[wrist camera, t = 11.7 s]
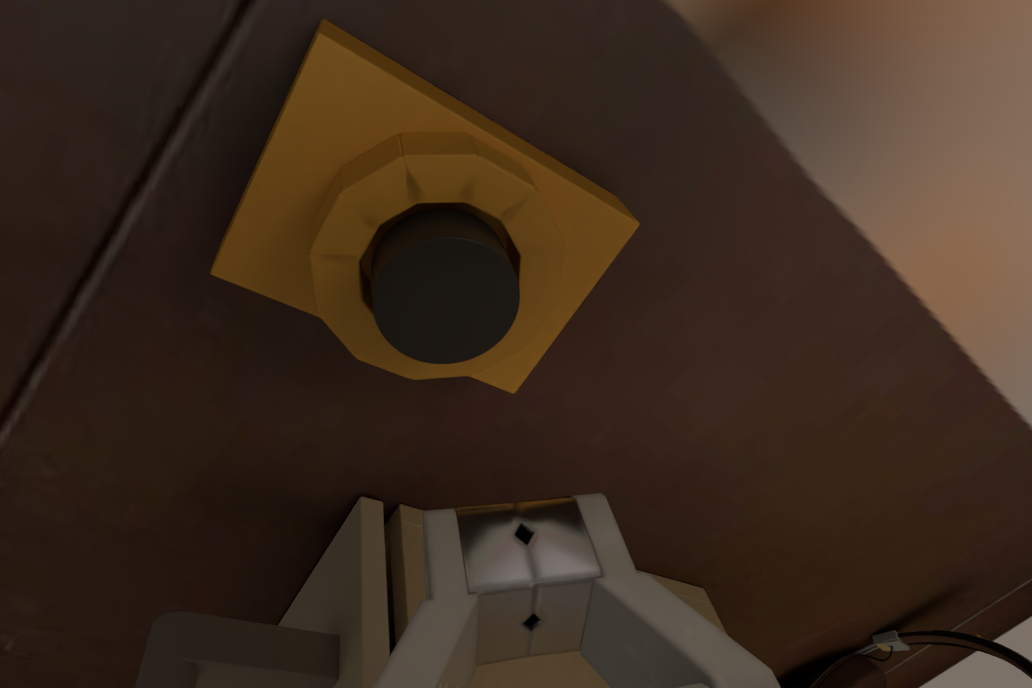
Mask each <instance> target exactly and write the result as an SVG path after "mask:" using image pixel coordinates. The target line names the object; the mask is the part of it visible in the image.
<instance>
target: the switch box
mask: <svg viewBox="0 0 1032 688" xmlns="http://www.w3.org/2000/svg"><path fill="white" fill-rule="evenodd" d="M435 208H450V209H456V210H461V211H464V212H468V213H470V214H472V215H474V216H476V217H478V218H480V219H481V220H483V221H484V222H485V223H487V224H488V225H489V226H490V227H491V228H492V229H493V230H494V231H495V232H496V234H497V235H498V237H499V238H500V240H501V242H502V244H503V246H504V248H505V251H506V253H507V255H508V258H509V260H510V262H511V265H512V267H513V270H514V272H515V274H516V277H517V280H518V283H519V289H520V303H519V309H518V312H517V316H516V318H515V320H514V323H513V325H512V326H511V328H510V330H509V331H508V333H507V334H506V335H505V336H504V338H503V339H502V340H501V341H500V342H499V343H498V344H496V345H495V346H494V347H493V348H491V349H490V350H488V351H487V352H485V353H484V354H482V355H480V356H477V357H475V358H473V359H470V360H467V361H463V362H459V363H453V364H431V363H426V362H421V361H418V360H415V359H412V358H410V357H408V356H406V355H404V354H402V353H401V352H399V351H398V350H396V349H395V348H394V347H393V346H391V345H390V344H389V342H388V341H387V340H386V339H385V338H384V337H383V335H382V334H381V332H380V330H379V328H378V326H377V324H376V321H375V318H374V314H373V308H372V284H371V265H372V259H373V256H374V252H375V250H376V248H377V245H378V243H379V242H380V240H381V239H382V237H383V236H384V235H385V234H386V232H387V231H388V230H389V229H390V228H391V227H392V226H394V225H395V224H396V223H397V222H399V221H400V220H402V219H403V218H405V217H407V216H409V215H411V214H414V213H417V212H419V211H423V210H428V209H435ZM638 226H639V222H638V221H637V220H636V219H635V217H634V216H633V215H632V214H631V213H630V212H629V211H628V209H627V208H626V207H625V206H624V205H623V204H622V202H621V201H620V200H619V199H618V198H617V197H616V196H615V195H613V194H612V193H610V192H608V191H607V190H605V189H603V188H602V187H600V186H598V185H597V184H595V183H593V182H592V181H590V180H589V179H587V178H585V177H584V176H582V175H580V174H579V173H577V172H575V171H574V170H572V169H570V168H569V167H567V166H566V165H564V164H562V163H561V162H559V161H557V160H556V159H554V158H552V157H551V156H549V155H547V154H546V153H544V152H543V151H541V150H539V149H538V148H536V147H534V146H533V145H531V144H529V143H528V142H526V141H524V140H523V139H521V138H519V137H518V136H516V135H515V134H513V133H511V132H510V131H508V130H506V129H505V128H503V127H501V126H500V125H498V124H496V123H495V122H493V121H492V120H490V119H488V118H487V117H485V116H483V115H482V114H480V113H478V112H477V111H475V110H473V109H472V108H470V107H469V106H467V105H465V104H464V103H462V102H460V101H459V100H457V99H455V98H454V97H452V96H450V95H449V94H447V93H446V92H444V91H442V90H441V89H439V88H437V87H436V86H434V85H432V84H431V83H429V82H427V81H426V80H424V79H423V78H421V77H419V76H418V75H416V74H414V73H413V72H411V71H409V70H408V69H406V68H404V67H403V66H401V65H399V64H398V63H396V62H395V61H393V60H391V59H390V58H388V57H386V56H385V55H383V54H381V53H380V52H378V51H376V50H375V49H373V48H372V47H370V46H368V45H367V44H365V43H363V42H362V41H360V40H358V39H357V38H355V37H353V36H352V35H350V34H349V33H347V32H345V31H344V30H342V29H340V28H339V27H337V26H335V25H334V24H332V23H330V22H329V21H327V20H326V19H322V20H321V21H320V24H319V26H318V28H317V30H316V33H315V35H314V37H313V39H312V41H311V44H310V46H309V48H308V50H307V53H306V55H305V57H304V59H303V61H302V64H301V66H300V68H299V70H298V73H297V75H296V77H295V79H294V82H293V84H292V86H291V88H290V90H289V93H288V95H287V97H286V99H285V102H284V104H283V106H282V108H281V110H280V113H279V115H278V117H277V119H276V122H275V124H274V126H273V128H272V131H271V133H270V135H269V137H268V139H267V142H266V144H265V146H264V148H263V151H262V153H261V155H260V157H259V159H258V162H257V164H256V166H255V168H254V171H253V173H252V175H251V177H250V180H249V182H248V184H247V186H246V188H245V191H244V193H243V195H242V197H241V200H240V202H239V204H238V206H237V208H236V211H235V213H234V215H233V217H232V220H231V222H230V224H229V226H228V229H227V231H226V233H225V235H224V237H223V240H222V242H221V245H220V248H219V250H218V253H217V255H216V258H215V261H214V263H213V266H212V268H211V271H210V274H211V275H213V276H216V277H218V278H221V279H224V280H226V281H229V282H231V283H234V284H236V285H239V286H241V287H244V288H246V289H249V290H251V291H254V292H256V293H259V294H262V295H264V296H267V297H269V298H272V299H274V300H277V301H279V302H282V303H284V304H287V305H289V306H292V307H295V308H297V309H300V310H302V311H305V312H307V313H310V314H312V315H315V316H317V317H320V318H321V319H322V320H323V321H324V322H325V323H326V324H327V326H328V327H329V328H330V329H331V330H332V331H333V333H334V334H335V335H336V336H337V337H338V338H339V339H340V341H341V342H342V343H343V344H344V345H345V346H346V348H347V349H348V350H349V351H350V352H351V353H352V354H353V356H354V357H356V358H357V359H358V360H361V361H363V362H366V363H369V364H371V365H374V366H377V367H379V368H382V369H385V370H387V371H390V372H393V373H395V374H398V375H401V376H403V377H406V378H409V379H413V380H421V379H434V378H447V377H460V376H469V377H472V378H475V379H477V380H480V381H482V382H485V383H487V384H490V385H492V386H495V387H497V388H500V389H502V390H505V391H507V392H510V393H513V394H514V393H515V392H516V391H517V390H518V388H519V387H520V386H521V384H522V383H523V382H524V380H525V379H526V378H527V376H528V375H529V373H530V372H531V371H532V369H533V368H534V367H535V365H536V364H537V363H538V361H539V360H540V359H541V357H542V356H543V355H544V353H545V352H546V351H547V349H548V348H549V346H550V345H551V344H552V342H553V341H554V340H555V338H556V337H557V336H558V334H559V333H560V332H561V330H562V329H563V328H564V326H565V325H566V323H567V322H568V321H569V319H570V318H571V317H572V315H573V314H574V313H575V311H576V310H577V309H578V307H579V306H580V305H581V303H582V302H583V301H584V299H585V298H586V296H587V295H588V294H589V292H590V291H591V290H592V288H593V287H594V286H595V284H596V283H597V282H598V280H599V279H600V278H601V276H602V275H603V273H604V272H605V271H606V269H607V268H608V267H609V265H610V264H611V263H612V261H613V260H614V259H615V257H616V256H617V255H618V253H619V252H620V251H621V249H622V248H623V246H624V245H625V244H626V242H627V241H628V240H629V238H630V237H631V236H632V234H633V233H634V232H635V230H636V229H637V228H638Z"/></svg>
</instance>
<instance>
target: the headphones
mask: <svg viewBox="0 0 1032 688" xmlns="http://www.w3.org/2000/svg"><path fill="white" fill-rule="evenodd" d="M872 638H873V641H874V643H872V644H870V645H868V646H866V647H864V648H862V649H860V650H858V651H856V652H855V653H853V654H850V655H847V656H845V657H843V658H841V659H839V660H837V661H835V662H833V663H831V664H829V665H827V666H825V667H823V668H821V669H820V670H818V671H816V672H815V673H813V674H812V675H810V676H808V677H807V678H806V679H804V680H803V681H801V682H800V683H799V684H797V685H796V686H795V687H794V688H887V687H886V686H887V681H886V677H885V674H884V672H883V671H882V670H881V669H880V668H879V667H878V666H876V665H875V664H874V663H872V662H871V661H870V660H868V659H867V658H865V657H869V658H872V659H875V660H878V661H887V660H888V659H889V658H890V657H891V655H892V651H901V650H910V649H909V646H908V645H914V644H934V645H948V646H957V647H963V648H968V649H973V650H977V651H981V652H984V653H987V654H990V655H993V656H996V657H998V658H1000V659H1003V660H1005V661H1007V662H1009V663H1010V664H1012V665H1014V666H1015V667H1017V668H1018V669H1020V670H1021V671H1023V672H1024V673H1025V674H1027V675H1028V676H1029V677H1030V678H1032V662H1031V661H1030V660H1028V659H1027V658H1025V657H1024V656H1022V655H1020V654H1019V653H1017V652H1015V651H1013V650H1011V649H1009V648H1007V647H1005V646H1003V645H1001V644H998V643H996V642H993V641H991V640H988V639H985V638H982V637H980V636H979V635H978V634H976V635H975V636H974V635H970V634H965V633H959V632H952V631H939V630H934V631H917V632H908V633H900V634H899V633H898V632H896V631H895V630H892V631H889V632H885V633H881V634H877V635H873V636H872ZM875 645H876V646H875ZM873 646H874V647H873ZM871 647H872V648H871ZM869 648H870V649H869ZM877 648H881V649H882V650H883V651H890V655H889V656H888V657H887V658H886V659H884V660H881V659H877V658H874V657H872V656H868V655H865V654H867V653H869V652H871V651H873V650H875V649H877ZM867 649H868V650H867ZM865 650H866V651H865ZM863 651H864V652H863ZM861 652H862V653H861ZM859 653H860V654H859ZM864 656H865V657H864Z"/></svg>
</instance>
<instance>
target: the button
mask: <svg viewBox="0 0 1032 688" xmlns="http://www.w3.org/2000/svg"><path fill="white" fill-rule="evenodd" d="M371 284H372V308H373V314H374V318H375V321H376V324H377V326H378V328H379V330H380V332H381V334H382V335H383V337H384V338H385V339H386V340H387V341H388V342H389V344H390V345H391V346H393V347H394V348H395V349H396V350H398V351H399V352H401V353H402V354H404V355H406V356H408V357H410V358H412V359H415V360H418V361H421V362H426V363H431V364H453V363H459V362H463V361H467V360H470V359H473V358H475V357H477V356H480V355H482V354H484V353H485V352H487V351H488V350H490V349H491V348H493V347H494V346H495V345H496V344H498V343H499V342H500V341H501V340H502V339H503V338H504V336H505V335H506V334H507V333H508V331H509V330H510V328H511V326H512V325H513V323H514V320H515V318H516V316H517V312H518V309H519V303H520V289H519V283H518V280H517V277H516V274H515V272H514V270H513V267H512V265H511V262H510V260H509V258H508V255H507V253H506V251H505V248H504V246H503V244H502V242H501V240H500V238H499V237H498V235H497V234H496V232H495V231H494V230H493V229H492V228H491V227H490V226H489V225H488V224H487V223H485V222H484V221H483V220H481V219H480V218H478V217H476V216H474V215H472V214H470V213H468V212H464V211H461V210H456V209H450V208H435V209H428V210H423V211H419V212H417V213H414V214H411V215H409V216H407V217H405V218H403V219H402V220H400V221H399V222H397V223H396V224H395V225H394V226H392V227H391V228H390V229H389V230H388V231H387V232H386V234H385V235H384V236H383V237H382V239H381V240H380V242H379V243H378V245H377V248H376V250H375V252H374V256H373V259H372V265H371Z"/></svg>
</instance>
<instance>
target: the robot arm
mask: <svg viewBox="0 0 1032 688" xmlns="http://www.w3.org/2000/svg"><path fill="white" fill-rule="evenodd" d="M422 516H423V560H424V583H425V597H426V600H423V601H421V603H420V604H419V606H418V608H417V610H416V611H415V613H414V615H413V617H412V618H411V620H410V622H409V624H408V625H407V627H406V629H405V631H404V632H403V634H402V636H401V638H400V639H399V641H398V643H397V645H396V646H395V648H394V650H393V652H392V653H391V655H390V657H389V659H388V660H387V662H386V664H385V666H384V667H383V669H382V671H381V673H380V674H379V676H378V678H377V680H376V681H375V683H374V685H373V687H372V688H469V686H470V684H471V681H472V679H473V676H474V674H475V671H476V666H481V665H487V664H492V663H498V662H504V661H509V660H515V659H520V658H526V657H534V656H542V655H550V654H558V653H567V652H575V651H580V655H581V656H582V657H583V658H584V659H585V660H586V661H587V662H588V663H589V664H590V666H591V667H592V668H593V669H594V670H595V671H596V672H597V673H598V674H599V676H600V677H601V678H602V679H603V680H604V681H605V682H606V683H607V684H608V686H609V687H610V688H781V687H780V685H779V683H778V681H777V680H776V678H775V676H774V674H773V672H772V670H771V669H770V668H769V667H767V666H766V665H765V664H763V663H762V662H761V661H760V660H758V659H757V658H756V657H754V656H753V655H752V654H751V653H749V652H748V651H747V650H745V649H744V648H743V647H742V646H740V645H739V644H738V643H736V642H735V641H734V640H733V639H731V638H730V637H729V636H727V635H726V634H725V633H724V632H722V631H721V630H720V629H719V628H717V627H716V626H715V625H713V624H712V623H711V622H710V621H708V620H707V619H706V618H704V617H703V616H702V615H701V614H699V613H698V612H697V611H695V610H694V609H693V608H692V607H690V606H689V605H688V604H686V603H685V602H684V601H683V600H681V599H680V598H679V597H677V596H676V595H675V594H674V593H672V592H671V591H670V590H668V589H667V588H666V587H665V586H663V585H662V584H661V583H659V582H658V581H657V580H656V579H654V578H653V577H652V576H650V575H649V574H648V573H647V572H639V573H637V571H636V569H635V566H634V564H633V561H632V559H631V557H630V554H629V552H628V549H627V547H626V545H625V542H624V540H623V537H622V535H621V533H620V530H619V528H618V525H617V523H616V520H615V518H614V516H613V513H612V511H611V508H610V506H609V504H608V501H607V499H606V497H605V496H604V495H603V494H602V493H596V494H587V495H577V496H572V497H571V496H565V497H556V498H548V499H539V500H530V501H522V502H514V503H510V504H497V505H484V506H472V507H459V508H455V510H454V508H451V509H439V510H427V511H423V514H422Z"/></svg>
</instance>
